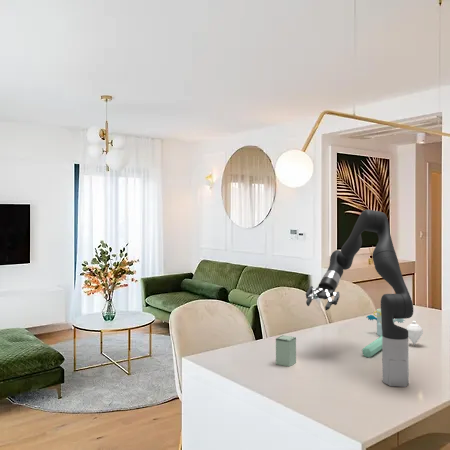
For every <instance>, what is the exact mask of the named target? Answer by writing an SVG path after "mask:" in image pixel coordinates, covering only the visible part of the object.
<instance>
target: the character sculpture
mask: <svg viewBox="0 0 450 450" xmlns="http://www.w3.org/2000/svg"><path fill="white" fill-rule="evenodd" d="M366 319H368V320H369V321H374V320H375V321H376V335H377V336H378V337H380V336H381V335H382V319H381V308H377V309H376V310H375V311H373V313H372V314H370V315H367V316H366ZM395 322H397V323H398V324H404V322H406V319H393V323H394V324H395Z"/></svg>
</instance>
